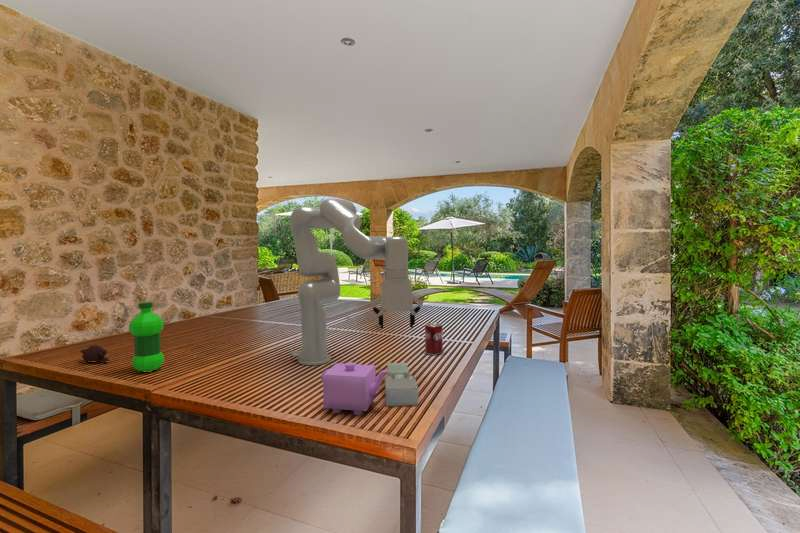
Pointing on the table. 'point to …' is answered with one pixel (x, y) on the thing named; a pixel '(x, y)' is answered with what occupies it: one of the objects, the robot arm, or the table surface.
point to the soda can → (433, 338)
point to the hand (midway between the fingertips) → (396, 327)
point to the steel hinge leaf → (401, 391)
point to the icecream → (94, 353)
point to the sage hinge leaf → (397, 370)
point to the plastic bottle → (147, 339)
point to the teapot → (350, 387)
